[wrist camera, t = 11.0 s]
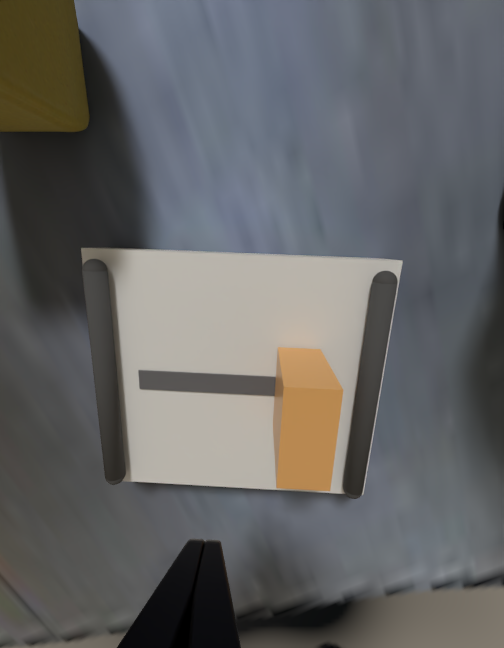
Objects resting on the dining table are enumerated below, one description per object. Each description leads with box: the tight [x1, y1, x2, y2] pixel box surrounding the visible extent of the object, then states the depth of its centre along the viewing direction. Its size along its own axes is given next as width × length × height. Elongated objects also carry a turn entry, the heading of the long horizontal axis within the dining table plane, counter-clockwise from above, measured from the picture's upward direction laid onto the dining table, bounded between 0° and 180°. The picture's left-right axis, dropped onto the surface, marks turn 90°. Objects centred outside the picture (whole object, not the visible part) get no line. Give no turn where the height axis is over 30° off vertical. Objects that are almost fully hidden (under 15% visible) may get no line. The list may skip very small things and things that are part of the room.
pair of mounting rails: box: [82, 259, 398, 499], centre depth 17 cm, size 16×14×1 cm
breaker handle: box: [273, 347, 343, 491], centre depth 15 cm, size 2×5×5 cm, turn 178°
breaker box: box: [81, 248, 403, 495], centre depth 19 cm, size 17×15×3 cm
